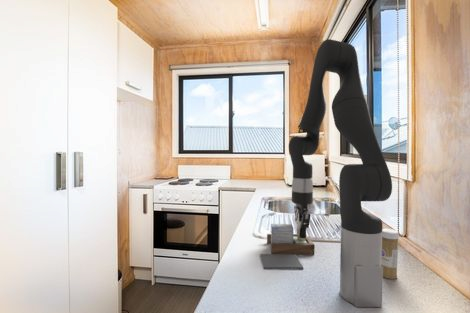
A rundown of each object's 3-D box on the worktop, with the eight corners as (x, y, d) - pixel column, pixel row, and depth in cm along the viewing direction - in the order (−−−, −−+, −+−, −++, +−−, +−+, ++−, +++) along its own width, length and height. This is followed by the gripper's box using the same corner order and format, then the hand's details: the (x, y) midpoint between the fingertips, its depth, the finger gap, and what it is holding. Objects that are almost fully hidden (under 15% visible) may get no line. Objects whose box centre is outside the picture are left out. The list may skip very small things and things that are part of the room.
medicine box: (291, 246, 99) (292, 224, 99) (293, 251, 94) (293, 227, 94) (270, 245, 100) (271, 223, 99) (271, 250, 95) (271, 226, 95)
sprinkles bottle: (375, 273, 78) (377, 228, 77) (386, 271, 79) (387, 227, 79) (390, 280, 73) (391, 233, 73) (401, 278, 75) (402, 231, 75)
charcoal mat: (303, 269, 80) (303, 267, 80) (264, 269, 80) (264, 267, 80) (295, 255, 90) (295, 254, 90) (260, 255, 90) (260, 254, 90)
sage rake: (308, 251, 94) (308, 221, 93) (296, 251, 94) (296, 221, 93) (302, 244, 101) (303, 216, 100) (291, 244, 101) (292, 216, 100)
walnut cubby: (314, 254, 92) (314, 244, 91) (271, 254, 91) (271, 244, 91) (305, 243, 103) (305, 234, 103) (267, 242, 103) (267, 233, 103)
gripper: (318, 193, 90) (317, 243, 90) (306, 187, 104) (306, 230, 104) (296, 193, 90) (296, 242, 90) (288, 187, 104) (287, 230, 104)
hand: (301, 236), depth 97 cm, fingers closed on sage rake, 3 cm apart
